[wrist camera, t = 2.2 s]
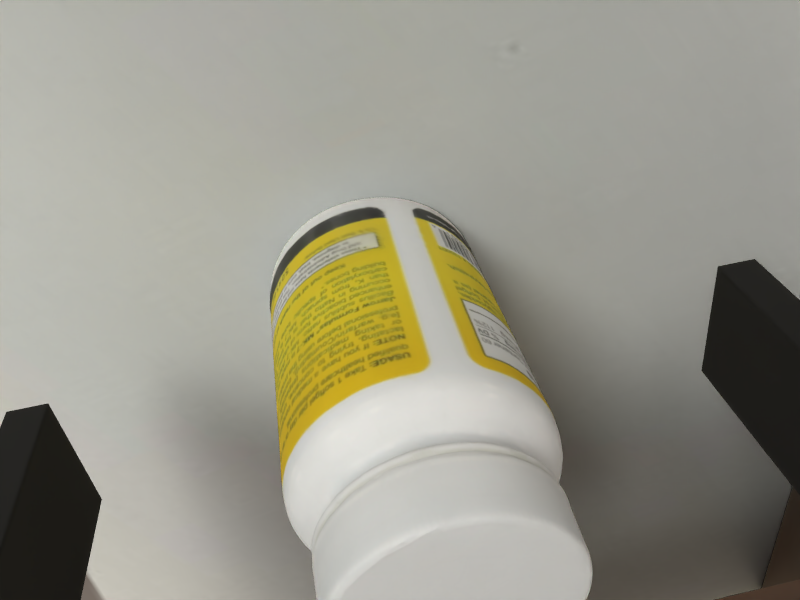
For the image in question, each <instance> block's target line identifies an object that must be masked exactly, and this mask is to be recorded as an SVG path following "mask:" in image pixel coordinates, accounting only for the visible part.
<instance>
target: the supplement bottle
mask: <svg viewBox="0 0 800 600" xmlns="http://www.w3.org/2000/svg"><path fill="white" fill-rule="evenodd" d="M270 311H271V324H272V341H273V357H274V371H275V386H276V402H277V419H278V433H279V447H280V462H281V482H282V492H283V499H284V504H285V508H286V511H287V515H288V518H289V521H290V523H291V525H292V527H293V529H294V531H295V532H296V534H297V535H298V537H299V538H300V540H301V541H302V542H303V543H304V544H305V546H306V547H307V548H308V549H309V550H311V553H312V571H313V577H314V585H315V593H316V600H586V599H587V596H588V594H589V591H590V588H591V584H592V574H593V569H592V561H591V557H590V553H589V551H588V548H587V546H586V543H585V541H584V539H583V536H582V534H581V531H580V529H579V526H578V524H577V522H576V519H575V517H574V514H573V512H572V509H571V506H570V503H569V500H568V498H567V496H566V493H565V492H564V490H563V489H562V487H561V486H560V484H559V482H560V477H561V472H562V463H563V452H562V443H561V439H560V435H559V431H558V428H557V425H556V422H555V419H554V416H553V414H552V412H551V410H550V407H549V405H548V404H547V402H546V400H545V398H544V396H543V394H542V392H541V390H540V388H539V386H538V384H537V382H536V380H535V378H534V376H533V374H532V372H531V370H530V368H529V366H528V364H527V362H526V360H525V358H524V356H523V354H522V352H521V350H520V348H519V346H518V344H517V342H516V340H515V338H514V336H513V334H512V332H511V330H510V328H509V326H508V324H507V322H506V320H505V318H504V316H503V314H502V312H501V310H500V308H499V306H498V304H497V302H496V300H495V298H494V296H493V294H492V292H491V290H490V288H489V286H488V284H487V282H486V280H485V278H484V276H483V274H482V272H481V270H480V268H479V266H478V264H477V262H476V259H475V257H474V255H473V253H472V251H471V249H470V247H469V246H468V244H467V242H466V241H465V239H464V237H463V236H462V234H461V233H460V232H459V231H458V229H457V228H456V227H455V226H454V225H453V224H452V223H451V222H450V221H449V220H448V219H447V218H445V217H444V216H443V215H441V214H440V213H438V212H437V211H435V210H433V209H431V208H429V207H427V206H425V205H423V204H420V203H417V202H414V201H410V200H406V199H400V198H391V197H377V198H365V199H359V200H353V201H349V202H345V203H342V204H339V205H336V206H333V207H331V208H329V209H326V210H325V211H323V212H321V213H319V214H318V215H316V216H314V217H313V218H311V219H310V220H309V221H307V222H306V223H305V224H304V225H303V226H302V227H301V228H300V229H299V230H298V231H296V232H295V233H294V235H293V236H292V237H291V238H290V239H289V241H288V242H287V243H286V245H285V247H284V248H283V250H282V251H281V253H280V255H279V258H278V260H277V262H276V265H275V268H274V271H273V275H272V279H271V286H270Z"/></svg>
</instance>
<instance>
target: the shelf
mask: <svg viewBox="0 0 800 600" xmlns="http://www.w3.org/2000/svg"><path fill="white" fill-rule="evenodd" d="M715 600H800V495H799V494H798V493H797V491H796V490H795V489H794V487H792V491H791V494H790V497H789V500H788V504H787V507H786V510H785V513H784V517H783V520H782V523H781V526H780V530H779V533H778V536H777V540H776V543H775V546H774V549H773V553H772V556H771V559H770V562H769V566H768V569H767V572H766V575H765V579H764V582H763V585H762V588H761V589H757V590H753V591H749V592H744V593H740V594H736V595H732V596H728V597H723V598H719V599H715Z"/></svg>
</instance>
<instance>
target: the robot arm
mask: <svg viewBox="0 0 800 600" xmlns="http://www.w3.org/2000/svg"><path fill="white" fill-rule="evenodd" d="M702 372H703V373H704V374H705V376H706V377H707V378H708V380H709V381H710V382H711V383H712V385H713V386H714V387H715V388H716V390H717V391H718V392H719V393H720V395H721V396H722V397H723V399H724V400H725V401H726V402H727V404H728V405H729V406H730V407H731V409H732V410H733V411H734V413H735V414H736V415H737V416H738V418H739V419H740V420H741V421H742V423H743V424H744V425H745V426H746V428H747V429H748V430H749V432H750V433H751V434H752V435H753V437H754V438H755V439H756V440H757V442H758V443H759V444H760V446H761V447H762V448H763V449H764V451H765V452H766V453H767V454H768V456H769V457H770V458H771V459H772V461H773V462H774V463H775V465H776V466H777V467H778V468H779V470H780V471H781V472H782V473H783V475H784V476H785V477H786V479H787V480H788V481H789V482H790V484H791V485H792V486H793V487H794V489H795V490H796V491H797V493H798V494H799V495H800V300H799V299H798V298H797V297H796V296H794V295H793V294H792V293H791V292H790V291H789V290H788V289H787V288H786V287H785V286H783V285H782V284H781V283H780V282H779V281H778V280H777V279H776V278H775V277H774V276H773V275H771V274H770V273H769V272H768V271H767V270H766V269H765V268H764V267H763V266H762V265H761V264H759V263H758V262H757V261H756V260H755V259H753V260H748V261H743V262H738V263H733V264H728V265H723V266H718V270H717V276H716V283H715V289H714V295H713V302H712V308H711V314H710V321H709V327H708V333H707V340H706V346H705V352H704V359H703V365H702ZM101 500H102V499H101V497H100V495H99V493H98V492H97V490H96V488H95V486H94V485H93V483H92V481H91V479H90V477H89V476H88V474H87V472H86V470H85V468H84V467H83V465H82V463H81V461H80V460H79V458H78V456H77V454H76V452H75V451H74V449H73V447H72V445H71V443H70V442H69V440H68V438H67V436H66V434H65V433H64V431H63V429H62V427H61V426H60V424H59V422H58V420H57V418H56V417H55V415H54V413H53V411H52V409H51V408H50V406H49V404H43V405H39V406H34V407H29V408H24V409H19V410H14V411H9V412H6V414H5V417H4V420H3V422H2V425H1V427H0V600H81V595H82V590H83V585H84V581H85V576H86V571H87V567H88V562H89V557H90V552H91V548H92V543H93V538H94V533H95V529H96V524H97V519H98V514H99V510H100V505H101Z"/></svg>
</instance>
